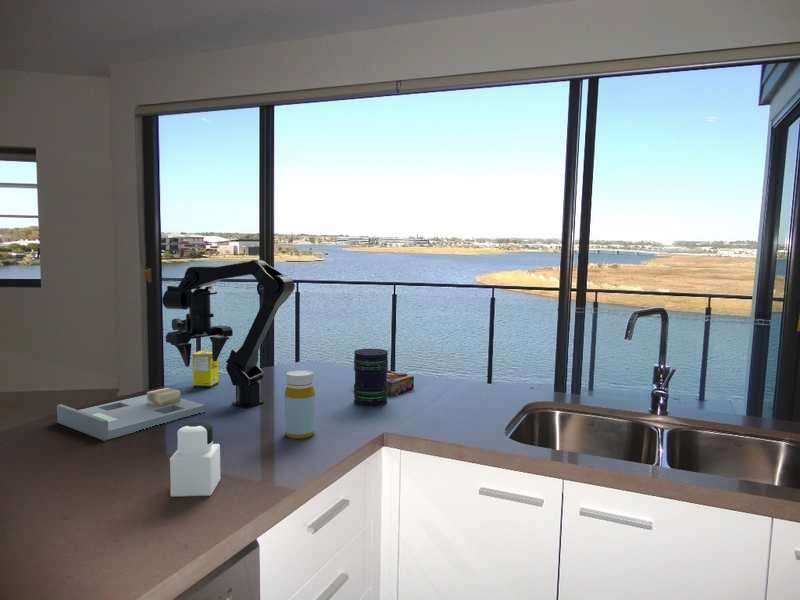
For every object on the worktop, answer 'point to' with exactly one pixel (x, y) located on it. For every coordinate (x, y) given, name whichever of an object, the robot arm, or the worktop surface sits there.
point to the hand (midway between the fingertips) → (201, 363)
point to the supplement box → (204, 369)
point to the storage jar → (370, 377)
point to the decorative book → (399, 383)
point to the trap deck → (124, 416)
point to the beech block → (163, 397)
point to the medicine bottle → (195, 461)
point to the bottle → (299, 404)
